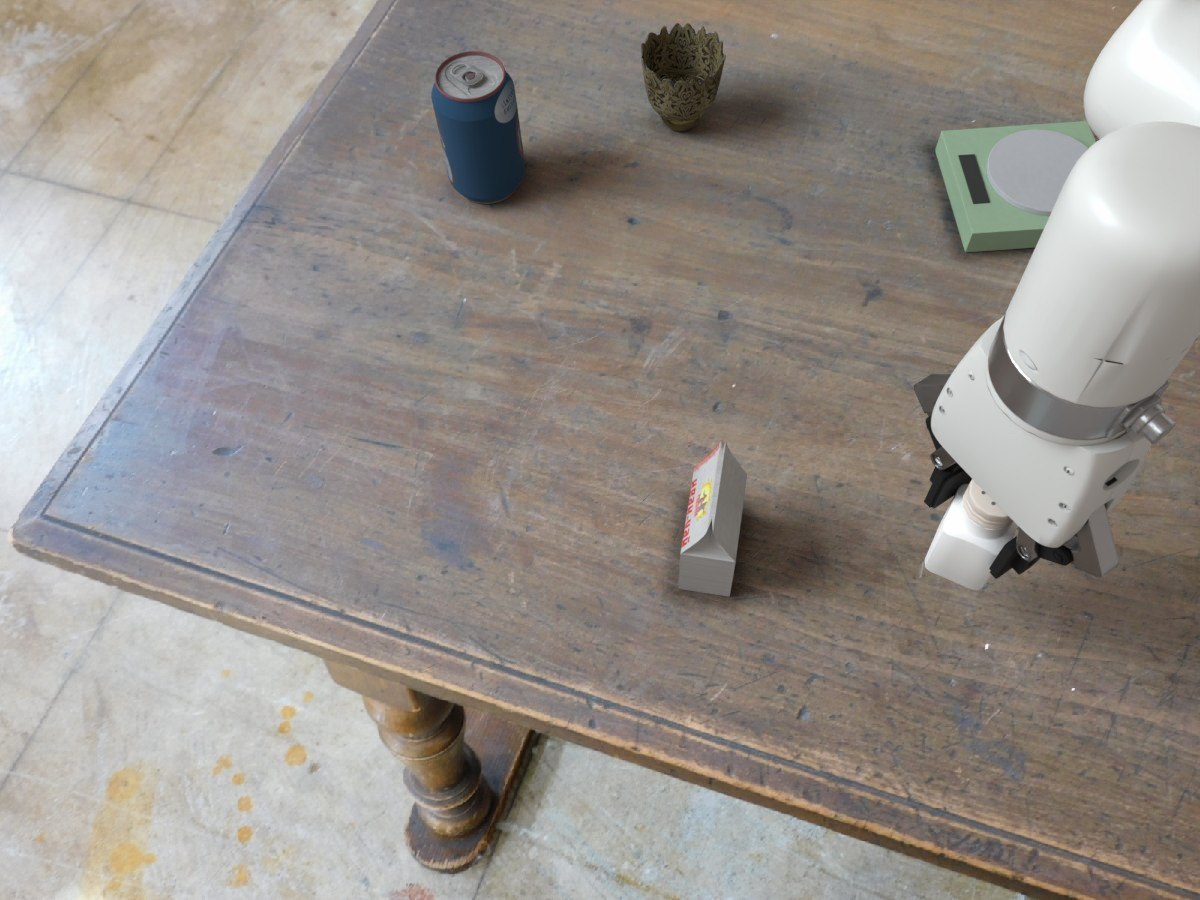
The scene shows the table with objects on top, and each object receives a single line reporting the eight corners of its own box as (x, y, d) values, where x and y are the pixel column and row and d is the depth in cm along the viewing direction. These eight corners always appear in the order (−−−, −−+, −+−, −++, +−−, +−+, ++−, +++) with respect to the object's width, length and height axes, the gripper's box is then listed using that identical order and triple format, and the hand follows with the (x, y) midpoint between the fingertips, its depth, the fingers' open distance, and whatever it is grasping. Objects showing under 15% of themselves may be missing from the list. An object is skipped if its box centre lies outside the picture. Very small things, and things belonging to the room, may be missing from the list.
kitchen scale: (1078, 140, 97) (1090, 115, 95) (1117, 242, 91) (1131, 217, 89) (934, 150, 97) (942, 125, 95) (964, 252, 91) (974, 228, 89)
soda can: (542, 178, 97) (530, 71, 87) (487, 221, 95) (467, 117, 85) (490, 142, 100) (471, 34, 90) (434, 183, 98) (409, 77, 87)
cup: (722, 148, 99) (728, 78, 92) (642, 150, 99) (642, 81, 92) (717, 91, 102) (723, 20, 95) (640, 94, 102) (639, 23, 96)
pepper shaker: (940, 521, 72) (975, 451, 64) (999, 546, 71) (1042, 478, 62) (919, 571, 70) (952, 505, 62) (979, 597, 69) (1021, 534, 61)
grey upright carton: (740, 512, 80) (752, 444, 71) (729, 596, 76) (740, 535, 68) (691, 505, 80) (696, 436, 72) (678, 588, 77) (682, 527, 68)
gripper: (1278, 451, 48) (1126, 602, 64) (1005, 214, 55) (929, 402, 71) (1157, 538, 46) (1032, 672, 62) (892, 281, 53) (840, 459, 69)
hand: (978, 526), depth 66 cm, fingers closed on pepper shaker, 5 cm apart
